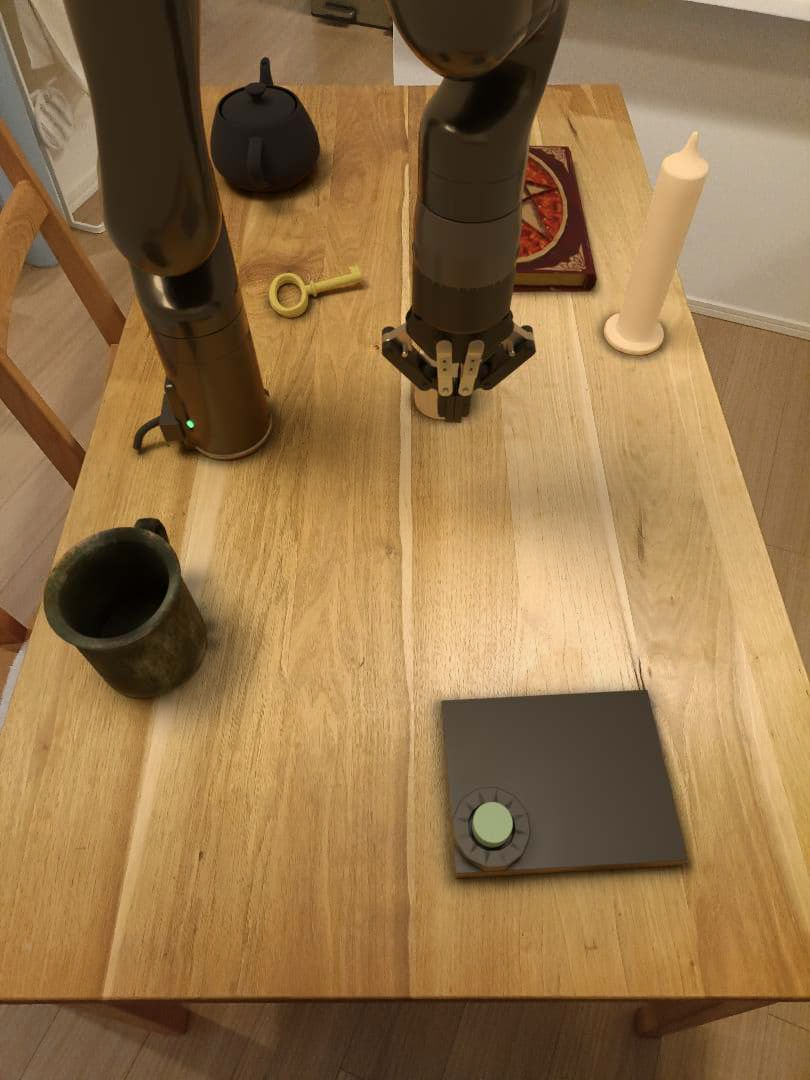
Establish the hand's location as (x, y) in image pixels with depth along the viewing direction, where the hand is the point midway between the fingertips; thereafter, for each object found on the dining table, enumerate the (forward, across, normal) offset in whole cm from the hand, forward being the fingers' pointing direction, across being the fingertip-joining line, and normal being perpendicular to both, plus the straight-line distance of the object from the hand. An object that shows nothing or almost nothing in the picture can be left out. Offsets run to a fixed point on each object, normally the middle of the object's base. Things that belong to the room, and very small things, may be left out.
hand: (452, 415), depth 69 cm
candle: (+13, -24, -24) cm, 37 cm away
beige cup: (+13, 0, -15) cm, 20 cm away
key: (+14, +16, -33) cm, 39 cm away
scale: (+13, -8, +29) cm, 33 cm away
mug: (+14, +28, +14) cm, 34 cm away
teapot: (+14, +24, -61) cm, 67 cm away
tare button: (+10, -2, +33) cm, 35 cm away
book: (+13, -10, -47) cm, 50 cm away
